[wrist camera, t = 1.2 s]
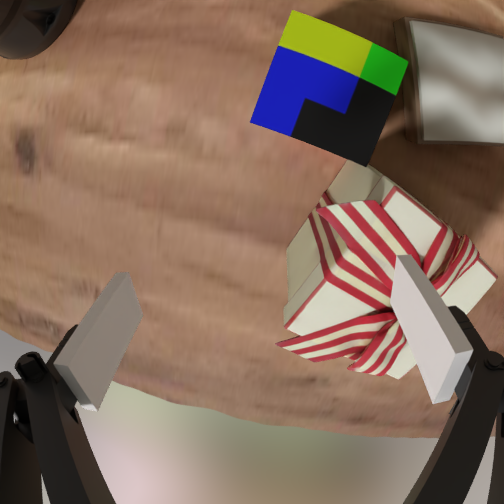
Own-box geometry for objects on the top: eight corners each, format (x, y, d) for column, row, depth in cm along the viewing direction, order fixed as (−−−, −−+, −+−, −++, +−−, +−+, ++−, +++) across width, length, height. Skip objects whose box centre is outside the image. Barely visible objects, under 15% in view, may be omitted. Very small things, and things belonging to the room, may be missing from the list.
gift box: (319, 133, 33) (360, 166, 17) (441, 208, 35) (520, 279, 20) (253, 257, 40) (242, 359, 25) (372, 308, 43) (406, 405, 28)
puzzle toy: (256, 115, 32) (249, 122, 23) (286, 33, 28) (292, 10, 19) (341, 148, 33) (366, 167, 24) (373, 69, 29) (408, 61, 20)
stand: (393, 22, 26) (406, 15, 22) (487, 38, 24) (505, 36, 21) (405, 139, 32) (420, 145, 28) (495, 141, 30) (513, 148, 27)
